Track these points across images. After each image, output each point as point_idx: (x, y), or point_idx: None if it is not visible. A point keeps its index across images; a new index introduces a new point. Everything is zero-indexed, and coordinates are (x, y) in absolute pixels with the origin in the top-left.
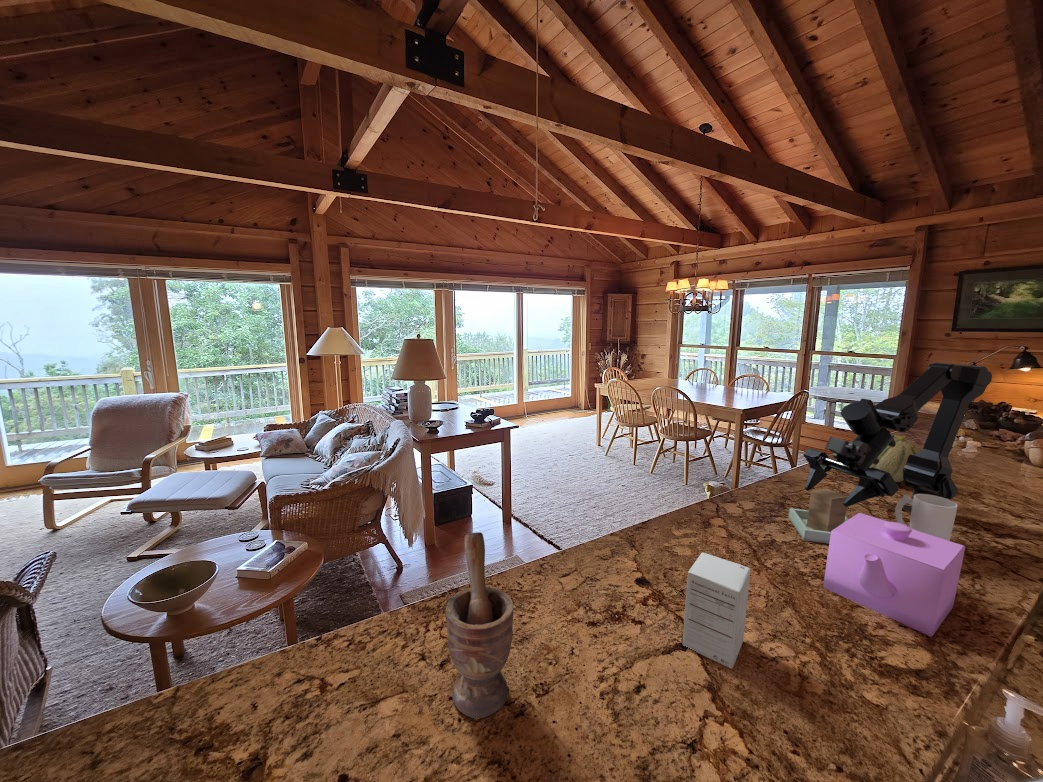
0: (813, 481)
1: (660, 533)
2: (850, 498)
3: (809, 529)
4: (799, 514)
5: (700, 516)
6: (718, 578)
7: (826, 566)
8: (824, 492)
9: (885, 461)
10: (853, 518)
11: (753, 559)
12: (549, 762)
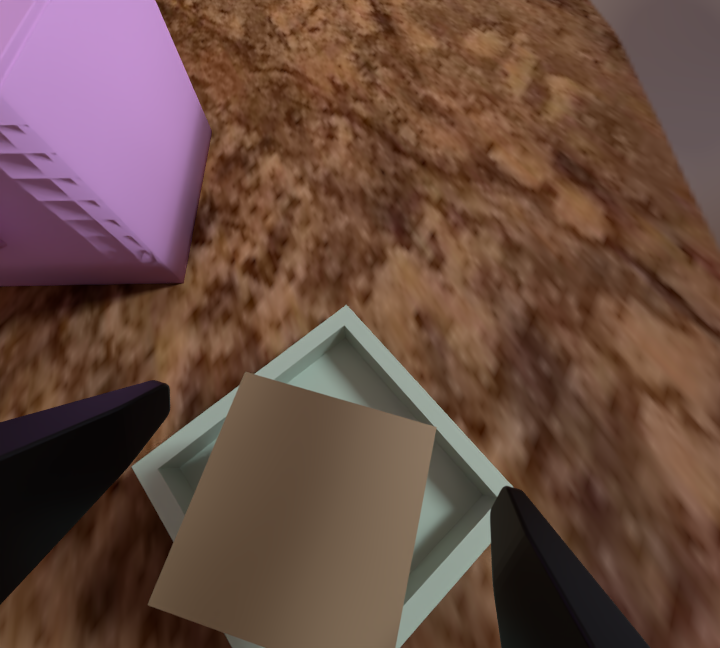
0: (534, 627)
1: (572, 57)
2: (78, 404)
3: (337, 325)
4: (470, 518)
5: (630, 198)
6: None
7: (184, 70)
8: (346, 494)
9: None
10: (23, 4)
11: (372, 116)
12: None
